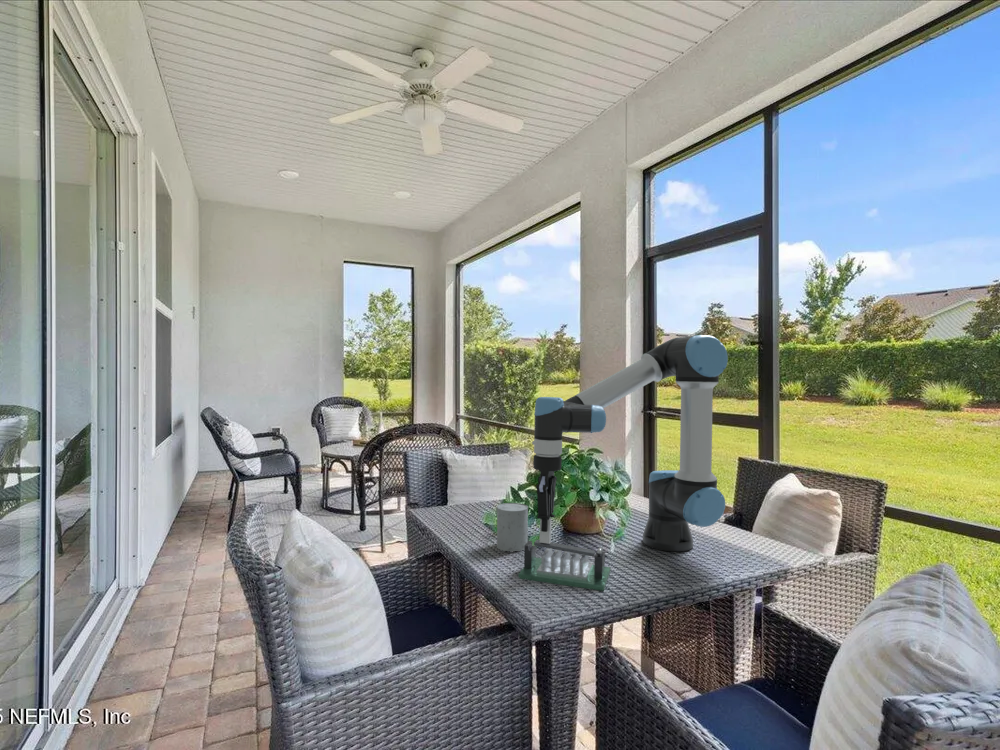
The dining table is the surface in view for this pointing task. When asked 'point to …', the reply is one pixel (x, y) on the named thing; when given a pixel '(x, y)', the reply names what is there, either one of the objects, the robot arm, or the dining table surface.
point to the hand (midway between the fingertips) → (545, 542)
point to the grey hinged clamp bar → (569, 548)
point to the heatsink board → (564, 568)
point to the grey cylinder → (512, 526)
